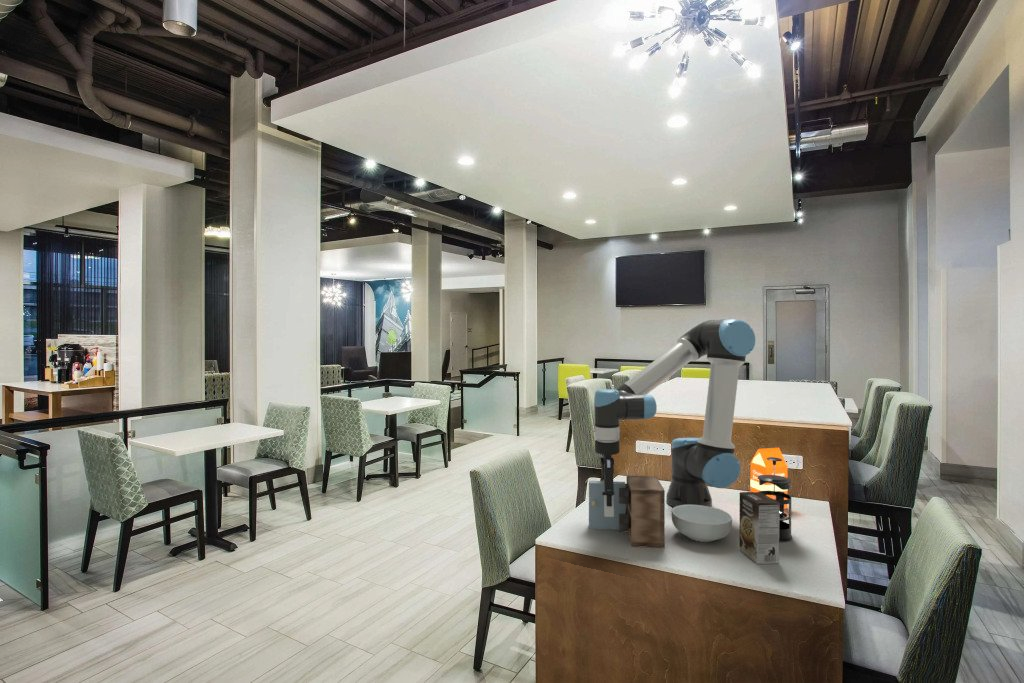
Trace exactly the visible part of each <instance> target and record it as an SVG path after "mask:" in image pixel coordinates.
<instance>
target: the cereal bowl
mask: <svg viewBox="0 0 1024 683" xmlns="http://www.w3.org/2000/svg"><path fill="white" fill-rule="evenodd" d="M671 522H672V525H673V527H675V529H676V531H678V532H679V533H681V534H682V535H684V536H686V537H687V538H688V539H690V540H692V541H694V540H695V542H698V541H700V542H699V543H711V542H713V541H717V540H721V539H723V538H725V537H727V535H728V534H730V532H731V530H732V527H733V526H732V524H733V518H732V515H730V513H728V512H727V511H724V510H722V509H720V508H716V507H714V506H712V507H708V506H702V505H680V506H676V507H673V508H672V509H671Z"/></svg>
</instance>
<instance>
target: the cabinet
mask: <svg viewBox="0 0 1024 683" xmlns="http://www.w3.org/2000/svg"><path fill="white" fill-rule="evenodd" d="M625 484H626V488H619V503H621V504H626V514H619V530H618V531H619V532H622V531H628V532H627V533H628V534H629V535H628V534H627V535H628V538H629V541H630V546H631V547H639V546H649V547H648V548H661V547H665V546H666V545H665V538H666V537H665V532H666V530H665V520H666V519H665V518H666V517H665V516H666V515H665V509H666V507H665V498H666V496H665V495H666V494H665V491H666V490H665V489H664V487H663V486H662V484H661V482H660V480H659V479H658V477H657V476H645V475H643V476H642V475H641V476H640V475H638V476H637V475H627V476H626V483H625Z"/></svg>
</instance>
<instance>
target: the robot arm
mask: <svg viewBox="0 0 1024 683" xmlns="http://www.w3.org/2000/svg"><path fill="white" fill-rule="evenodd" d="M676 341H677V342H676V344H675V345H673V346H672V347H671V348H669V349H668V350H667V351H665V352H664V353H662V354H661V355H660V356H659V357H658V358H656V359H655V360H653V361H652V362H650V363H649V364H648V365H646V366H645V367H644V368H643V369H641V370H640V371H639V372H638V373H636V374H635V375H633V376H632V377H631V378H630V379H629V380H627V381H626V382H624V383H623V384H622V385H620V386H618V388H611V389H610V388H608V389H606V388H602V389H597V390H596V391H595V392H594V402H593V406H594V407H593V408H594V411H593V412H594V428H592V432H593V433H594V439H595V440H594V452H595V453H596V454H598V455H601V457H600V460H599V461H600V468H601V473H600V476H601V481H604V486H605V492H602V495H604V517H614V483H613V482H614V473H615V469H614V466H615V459H614V457H612V456H613V455H617V454H619V453H620V441H619V440H620V438H621V436H620V421H624V420H625V421H627V420H646V419H652V418H654V417H655V415H656V414H657V411H658V410H657V407H658V406H657V401H656V399H655V397H654V396H653V395H651V394H650V393H651V392H652V391H654V390H655V389H656V388H658V387H659V386H660V385H661V384H663V383H664V382H665V381H666V380H668V379H669V378H670V377H672V376H674V374H676V373H677V372H678V371H680V370H681V369H682V368H684V367H685V366H686V365H687V364H689V363H690V362H691V361H692V362H696V361H698V360H699V359H700V358H702V357H704V356H706V360H707V361H708V362H709V363H710V369H709V380H708V389H707V396H706V406H705V414H704V420H703V429H702V430H703V431H702V436H701V437H678V438H674V439H673V440H672V441H671V447H670V448H671V449H670V450H671V481H670V484H669V486H668V489H667V492H666V496H665V498H666V503H667V505H669V506H671V507H673V508H674V507H676V506H680V505H702V506H708V507H713V499H712V495H711V493H710V490H709V487H714V488H717V489H726V488H729V487H731V486H732V485H733V484H734V483H735V482H736V481H738V479H739V477H740V476H741V475H740V474H741V469H742V466H741V462H740V460H739V459H738V457H737V456H736V455H735V452H736V445H735V444H734V443H733V442H732V434H733V433H732V432H733V426H734V425H733V424H734V415H735V409H736V408H735V407H736V401H737V400H736V399H737V398H736V397H737V390H738V381H739V373H740V372H739V371H740V367H742V366H743V365H744V364H745V363H746V357H747V355H749V354H751V352H752V351H753V350H754V349H755V346H756V335H755V332H754V330H753V328H752V327H751V325H750V324H749V323H747V322H746V321H744V320H742V319H735V318H726V319H709V320H705V321H702V322H701V323H698V324H697V325H696V326H694V327H693V328H691V329H689V330H688V331H686V332H685V333H684V334H682V335H681V336H680V337H679V338H678V339H677V340H676ZM607 490H611V491H607Z"/></svg>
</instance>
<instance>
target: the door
mask: <svg viewBox="0 0 1024 683" xmlns="http://www.w3.org/2000/svg"><path fill="white" fill-rule="evenodd" d="M613 483H614V517H604V495H602V492H605V486H604V481H603V480H588V528H589V529H593V528H597V530H617V529H619V514H626V504H621V503H619V488H626V484H627V483H626V482H625V481H613ZM607 491H611V490H607Z"/></svg>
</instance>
